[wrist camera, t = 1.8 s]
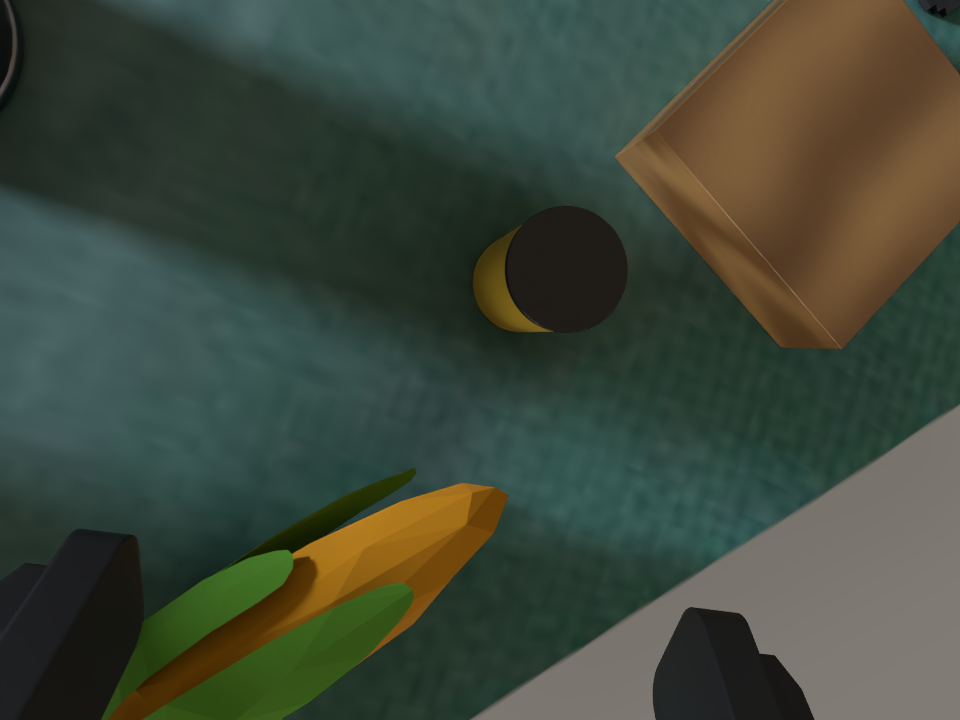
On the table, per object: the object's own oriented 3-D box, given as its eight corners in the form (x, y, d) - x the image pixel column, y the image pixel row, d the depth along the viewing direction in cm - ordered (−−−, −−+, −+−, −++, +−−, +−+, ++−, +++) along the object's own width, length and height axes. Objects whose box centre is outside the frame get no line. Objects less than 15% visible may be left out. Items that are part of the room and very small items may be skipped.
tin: (452, 269, 36) (481, 251, 28) (533, 214, 37) (584, 181, 29) (508, 352, 37) (552, 357, 29) (586, 297, 37) (650, 287, 29)
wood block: (614, 157, 37) (654, 129, 32) (789, -16, 39) (853, -67, 34) (780, 347, 39) (842, 349, 35) (940, 176, 41) (1022, 155, 36)
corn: (14, 730, 26) (481, 434, 29) (82, 632, 33) (448, 405, 36) (134, 875, 27) (567, 581, 30) (174, 750, 35) (518, 523, 37)
